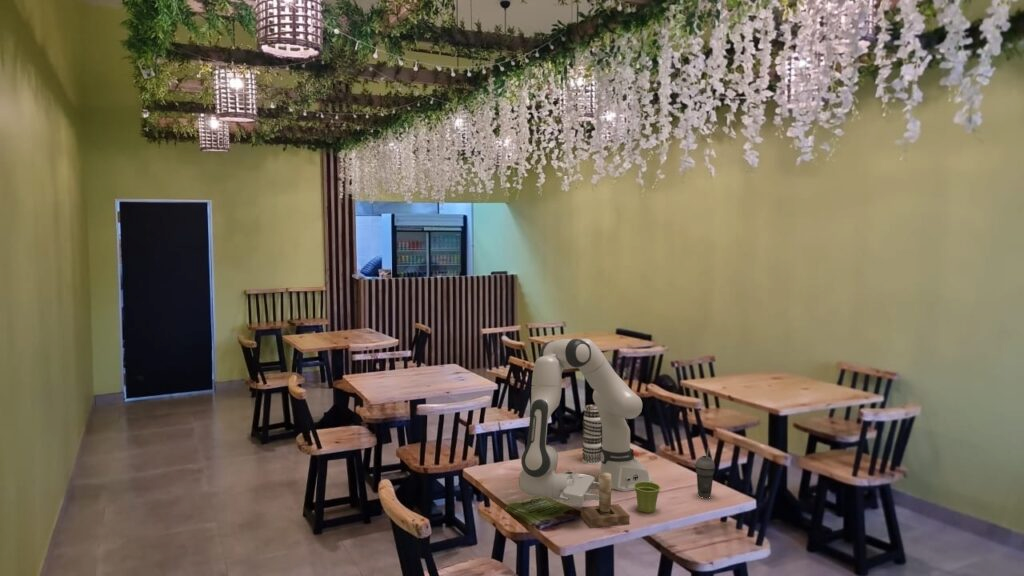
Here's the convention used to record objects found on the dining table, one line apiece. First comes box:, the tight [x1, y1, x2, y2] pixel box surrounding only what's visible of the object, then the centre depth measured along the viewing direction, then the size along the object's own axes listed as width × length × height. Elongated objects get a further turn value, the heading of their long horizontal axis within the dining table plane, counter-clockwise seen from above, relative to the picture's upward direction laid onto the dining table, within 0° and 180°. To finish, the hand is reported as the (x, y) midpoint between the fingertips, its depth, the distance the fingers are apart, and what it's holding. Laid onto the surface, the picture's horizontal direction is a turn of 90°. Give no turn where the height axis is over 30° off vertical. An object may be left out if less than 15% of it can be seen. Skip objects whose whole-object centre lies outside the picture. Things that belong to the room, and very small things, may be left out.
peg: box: [598, 472, 612, 515], centre depth 220 cm, size 4×4×16 cm
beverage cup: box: [694, 445, 716, 499], centre depth 242 cm, size 7×7×20 cm
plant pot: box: [634, 482, 661, 514], centre depth 229 cm, size 9×9×9 cm
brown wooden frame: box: [580, 503, 631, 529], centre depth 221 cm, size 14×10×3 cm
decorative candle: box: [581, 404, 602, 465], centre depth 281 cm, size 9×9×25 cm
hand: (602, 492), depth 221 cm, fingers open, 8 cm apart
